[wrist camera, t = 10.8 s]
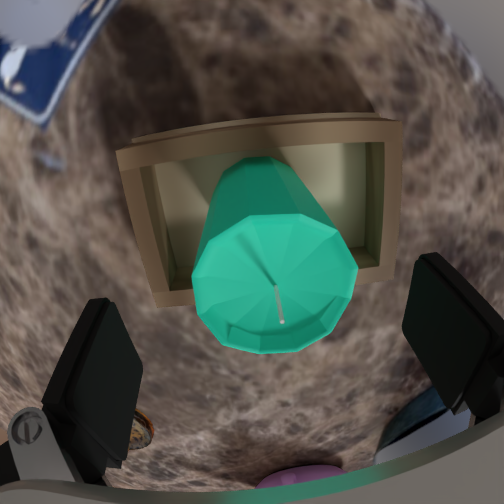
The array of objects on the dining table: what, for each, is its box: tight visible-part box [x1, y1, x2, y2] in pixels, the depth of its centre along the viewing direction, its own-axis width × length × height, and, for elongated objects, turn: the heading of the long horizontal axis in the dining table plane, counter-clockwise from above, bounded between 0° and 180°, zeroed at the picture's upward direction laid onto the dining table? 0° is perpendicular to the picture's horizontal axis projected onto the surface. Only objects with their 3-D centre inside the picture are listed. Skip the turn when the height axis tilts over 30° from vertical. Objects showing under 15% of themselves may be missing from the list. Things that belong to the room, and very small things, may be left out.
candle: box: [191, 156, 358, 354], centre depth 15 cm, size 6×6×12 cm
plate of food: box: [128, 408, 154, 451], centre depth 30 cm, size 12×12×8 cm
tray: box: [116, 112, 402, 308], centre depth 19 cm, size 16×11×4 cm
